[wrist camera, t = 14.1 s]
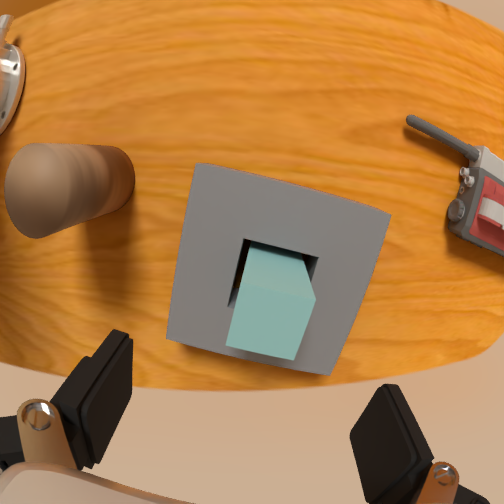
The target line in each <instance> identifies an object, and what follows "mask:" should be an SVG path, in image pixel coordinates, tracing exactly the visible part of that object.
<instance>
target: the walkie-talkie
mask: <svg viewBox="0 0 504 504" xmlns="http://www.w3.org/2000/svg"><path fill="white" fill-rule="evenodd" d="M406 122H407V124H408V125H409V126H411V127H413V128H415V129H417V130H419V131H421V132H423V133H425V134H427V135H429V136H431V137H433V138H435V139H437V140H438V141H440V142H442V143H444V144H446V145H448V146H449V147H451V148H453V149H455V150H456V151H458V152H460V153H462V154H463V155H464V157H466V158H467V159H469V160H470V162H469V167H467V168H464V167H462V168H461V169H460V175H461V176H462V181H461V185H460V188H459V192H458V195H457V199H455V200H453V201H452V202H451V203H450V205H449V208H448V218H449V219H450V221H449V224H448V228H449V230H450V231H451V232H453V233H455V234H457V235H456V236H457V237H459V238H461V239H463V240H466V241H470V242H471V243H472V244H474V245H476V246H478V247H480V248H482V246H483V247H485V248H487V249H489V250H491V251H493V252H495V253H497V254H499V255H501V256H503V257H504V161H503V160H501V159H500V158H498V157H497V156H496V155H494V154H493V153H491V152H490V150H489V149H488V148H486V147H485V146H472V145H470V144H468V145H467V144H466V143H464V142H462V141H461V140H459V139H457V138H455V137H454V136H452V135H450V134H448V133H447V132H445V131H443V130H441V129H439V128H438V127H436V126H434V125H432V124H430V123H428V122H426V121H424V120H422V119H420V118H418V117H416V116H414V115H408V116H407V118H406ZM496 251H497V252H496Z"/></svg>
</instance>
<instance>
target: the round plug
mask: <svg viewBox="0 0 504 504" xmlns="http://www.w3.org/2000/svg"><path fill="white" fill-rule="evenodd" d="M134 184H135V172H134V168H133V165H132V162H131V160H130V159H129V157H128V156H127V155H126V153H125V152H123V151H122V150H120V149H119V148H116V147H113V146H101V145H83V144H56V143H32V144H28V145H26V146H24V147H23V148H21V149H20V150H19V151H18V152H17V153H16V154H15V156H14V157H13V159H12V161H11V163H10V165H9V167H8V170H7V173H6V178H5V186H4V195H5V203H6V208H7V211H8V214H9V216H10V218H11V220H12V222H13V224H14V225H15V227H16V228H17V229H18V230H19V231H20V232H21V233H22V234H24V235H25V236H27V237H30V238H35V239H38V238H43V237H46V236H48V235H51V234H53V233H56V232H58V231H61V230H63V229H66V228H69V227H71V226H74V225H77V224H79V223H82V222H85V221H88V220H90V219H93V218H96V217H99V216H102V215H104V214H107V213H110V212H113V211H116V210H118V209H120V208H121V207H122V206H124V205H125V204H126V202H127V201H128V200H129V198H130V196H131V194H132V192H133V189H134Z"/></svg>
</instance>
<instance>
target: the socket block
mask: <svg viewBox="0 0 504 504" xmlns="http://www.w3.org/2000/svg"><path fill="white" fill-rule="evenodd" d="M390 218H391V214H388V213H386V212H384V211H382V210H379V209H377V208H375V207H372V206H369V205H366V204H362V203H359V202H356V201H353V200H349V199H346V198H343V197H339V196H336V195H333V194H329V193H326V192H322V191H319V190H315V189H311V188H308V187H304V186H300V185H297V184H293V183H289V182H285V181H281V180H277V179H274V178H270V177H265V176H261V175H257V174H253V173H249V172H245V171H240V170H236V169H232V168H227V167H223V166H218V165H213V164H209V163H196V166H195V170H194V175H193V179H192V184H191V189H190V194H189V199H188V204H187V209H186V214H185V219H184V224H183V230H182V235H181V241H180V246H179V252H178V258H177V264H176V270H175V277H174V283H173V290H172V297H171V304H170V311H169V318H168V326H167V334H166V339H169V340H172V341H176V342H179V343H183V344H186V345H190V346H193V347H197V348H201V349H204V350H208V351H212V352H216V353H220V354H224V355H228V356H232V357H237V358H241V359H245V360H250V361H254V362H259V363H263V364H268V365H273V366H278V367H283V368H288V369H293V370H299V371H305V372H310V373H316V374H322V375H329V376H330V374H331V372H332V370H333V368H334V366H335V364H336V362H337V359H338V357H339V355H340V353H341V351H342V348H343V346H344V344H345V341H346V339H347V337H348V334H349V332H350V330H351V327H352V325H353V323H354V320H355V318H356V315H357V313H358V310H359V308H360V305H361V303H362V300H363V297H364V295H365V292H366V289H367V287H368V284H369V281H370V279H371V276H372V273H373V270H374V267H375V265H376V262H377V259H378V256H379V253H380V250H381V247H382V244H383V241H384V238H385V234H386V231H387V228H388V225H389V221H390ZM245 239H248V240H252V241H257V242H261V243H265V244H269V245H273V246H277V247H281V248H285V249H289V250H293V251H297V252H301V253H304V254H308V257H307V261H306V264H305V267H306V270H307V273H308V276H309V279H310V282H311V285H312V289H313V292H314V295H315V298H316V301H315V304H314V307H313V310H312V313H311V316H310V318H309V321H308V324H307V327H306V329H305V332H304V335H303V337H302V340H301V343H300V345H299V348H298V351H297V353H296V356H295V359H294V360H289V359H284V358H279V357H274V356H269V355H265V354H260V353H256V352H251V351H247V350H243V349H238V348H234V347H230V346H226V341H227V337H228V333H229V329H230V325H231V321H232V317H233V313H234V308H235V304H236V300H237V296H238V292H239V288H235V287H233V286H234V282H235V278H236V273H237V269H238V265H239V261H240V257H241V252H242V248H243V244H244V240H245Z"/></svg>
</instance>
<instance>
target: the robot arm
mask: <svg viewBox="0 0 504 504" xmlns="http://www.w3.org/2000/svg"><path fill="white" fill-rule="evenodd" d="M13 19H14V17H13V16H11V15H2V16H1V17H0V135H1V134H2V132H3V131H4V130H5V129H6V127H7V125H8V124H9V122H10V121H11V119H12V117H13V115H14V113H15V110H16V108H17V105H18V103H19V100H20V96H21V93H22V89H23V84H24V78H25V61H24V56H23V54H22V52H21V50H20V49H19V48H18V47H17V46H14V45H12V44H7V43H6V41H5V38H6V35H7V32H8V31H9V29H10V26H11V24H12V21H13ZM132 362H133V339H131V338H129V334H128V333H125V332H121V331H118V330H115V329H113V330H112V331H111V332H110V334H109V335H108V336H107V338H106V339H105V340H104V341H103V343H102V344H101V345H100V347H99V348H98V349H97V351H96V352H95V353H94V354H93V356H92V357H88V356H85V357H84V358H82V360H81V361H80V362H79V363H78V365H77V366H76V367H75V369H74V370H73V371H72V372H71V374H70V375H69V376H68V378H67V379H66V380H65V382H64V383H63V384H62V386H61V387H60V388H59V390H58V391H57V392H56V394H55V395H54V396H53V398H52V399H51V400H50V402H48V401H46V400H42V399H31V400H28V401H26V402H24V403H23V404H22V405H21V406H20V407H19V409H18V411H17V415H15V416H8V417H0V504H194V503H189V502H185V501H180V500H176V499H172V498H168V497H164V496H159V495H156V494H152V493H149V492H145V491H142V490H138V489H135V488H131V487H128V486H125V485H122V484H119V483H116V482H113V481H110V480H107V479H104V478H101V477H98V476H95V475H93V474H90V473H86V472H83V471H81V470H82V469H83V467H84V466H85V467H88V468H90V469H92V468H93V466H94V463H97V464H99V463H100V462H101V460H102V458H103V455H104V453H105V451H106V449H107V446H108V444H109V442H110V440H111V438H112V436H113V434H114V432H115V430H116V427H117V425H118V423H119V421H120V419H121V417H122V415H123V413H124V411H125V408H126V407H127V405H128V402H129V400H130V398H131V395H132ZM350 441H351V445H352V449H353V453H354V456H355V460H356V464H357V467H358V472H359V476H360V479H361V484H362V488H363V492H364V496H365V500H366V502H367V503H369V504H490V503H489V501H488V500H487V499H486V498H484V497H482V496H481V495H479V494H476V493H475V492H473V491H471V490H469V489H467V488H465V487H463V486H461V485H459V474H458V472H457V470H456V469H455V468H454V467H453V466H452V465H451V464H449V463H446V462H436V463H435V464H433V463H432V460H433V459H434V456H433V454H432V452H431V450H430V448H429V446H428V444H427V441H426V439H425V438H424V435H423V433H422V431H421V429H420V427H419V425H418V423H417V421H416V419H415V417H414V415H413V413H412V411H411V409H410V407H409V405H408V403H407V401H406V399H405V397H404V395H403V393H402V392H401V390H400V388H399V386H398V385H396V384H383V385H382V386H381V387H379V388H378V389H377V390H376V392H375V393H374V395H373V397H372V398H371V400H370V402H369V403H368V405H367V407H366V408H365V410H364V412H363V413H362V415H361V416H360V418H359V419H358V421H357V422H356V424H355V425H354V427H353V428H352V430H351V432H350Z"/></svg>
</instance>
